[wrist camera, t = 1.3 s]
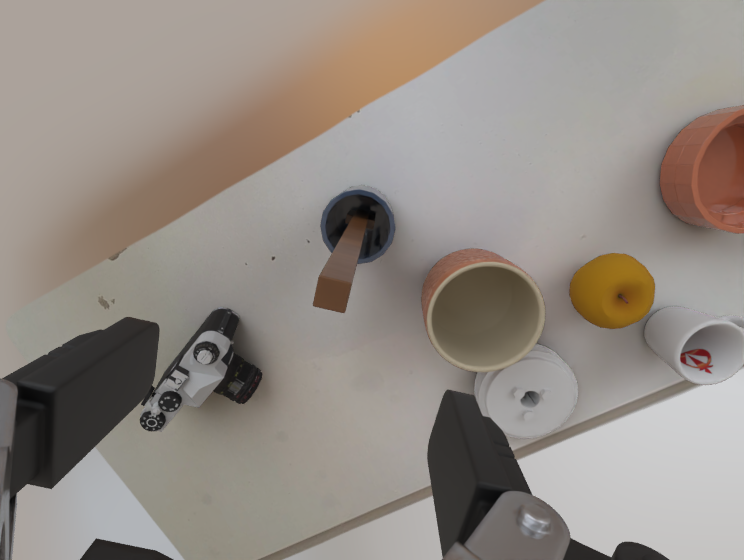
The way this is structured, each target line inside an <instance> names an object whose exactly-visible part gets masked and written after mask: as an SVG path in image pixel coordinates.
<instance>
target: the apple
mask: <svg viewBox="0 0 744 560" xmlns="http://www.w3.org/2000/svg"><path fill="white" fill-rule="evenodd" d="M654 293H655V283H654V279H653V277H652V276H651V274H650V273H649V271H648V270H647V269H646V267H645V266H643V265H642V264H641V263H640V262H638V261H637V260H636V259H634V258H633V257H631V256H629V255H627V254H617V253H611V254H606V255H602V256H599V257H597V258H595V259H593V260H592V261H590V262H588V263H587V264H585V265H584V266H583V267H581V268H580V269H579V270H578V271H577V272H576V273H575V275H574V276H573V278H572V281H571V283H570V294H569V295H570V298H571V301H572V303H573V305H574V308H575V309H576V310H577V311H578V312H579V313H580V314H581V315H582V316H583V317H584V318H585V319H586V320H588V321H589V322H590V323H592V324H595V325H597V326H599V327H602V328H609V329H617V328H623V327H626V326H628V325H630V324H633V323H635V322H638V321H640V320H641V319H642V318H643V317H644V316H645V315H647V314H648V313H649V311H650V308H651V306H652V304H653V301H654Z"/></svg>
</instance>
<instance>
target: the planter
mask: <svg viewBox="0 0 744 560" xmlns="http://www.w3.org/2000/svg"><path fill="white" fill-rule="evenodd" d="M421 302H422V310H423V316H424V322H425V327H426V331H427V334H428V336H429V339H430V341H431V343H432V345H433V346H434V348H435V349H436V351H437V352H438V353H439V354H440V355H441V356H442V357H443V358H444V359H445V360H446V361H448V362H449V363H451V364H452V365H454V366H456V367H458V368H461V369H464V370H467V371H472V372H492V371H497V370H501V369H504V368H507V367H509V366H511V365H513V364H515V363H516V362H518V361H519V360H521V359H522V358H523V357H525V356H526V355H527V354H528V353H529V352H530V351H531V350H532V348H533V347H534V346H535V344H536V343H537V341H538V339H539V337H540V335H541V333H542V330H543V327H544V322H545V304H544V300H543V297H542V294H541V292H540V290H539V288H538V286H537V285H536V283H535V282H534V281H533V279H532V278H531V277H530V276H529V275H528V274H527V273H526V272H525V271H523V270H522V269H521V268H519V267H518V266H516V265H515V264H513V263H511V262H510V261H508V260H506V259H504V258H503V257H501V256H499V255H497V254H495V253H493V252H490V251H486V250H482V249H464V250H459V251H456V252H453V253H451V254H449V255H447V256H445V257H444V258H442V259H441V260H440V261H438V262H437V263H436V264H435V265H434V266H433V268H432V269H431V270H430V272H429V273H428V275H427V277H426V279H425V282H424V285H423V289H422V298H421Z"/></svg>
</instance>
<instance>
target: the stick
mask: <svg viewBox="0 0 744 560" xmlns="http://www.w3.org/2000/svg"><path fill="white" fill-rule="evenodd" d="M369 213H370V212H368V211H364V210H360V209H357V210H356V211H354V210H350V211H349V212H348V213H347V216H346V220H345V223H348V226H347V228H346V230H345V231H344V233H343V235H342V237H341V238H340V240H339V242H338V244H337V245H336V247H335V249H334V251H333V252H332V254H331V256H330V258H329V259H328V261H327V263H326V265H325V267H324V268H323V270H322V272H321V274H320V275H319V278H318V283H317V287H316V292H315V297H314V302H313V306H315V307H319V308H323V309H328V310H332V311H336V312H341V313H345V311H346V307H347V303H348V299H349V295H350V291H351V287H352V283H353V278H354V274H355V270H356V266H357V262H358V258H359V254H360V250H361V246H362V242H363V238H364V234H365V230H366V228H368V229H372V230H373V228H374V224H375V217H376V216H375V215H370V214H369Z"/></svg>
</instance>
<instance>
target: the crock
mask: <svg viewBox="0 0 744 560" xmlns="http://www.w3.org/2000/svg"><path fill="white" fill-rule="evenodd" d="M357 209H360V210H364V211H368V212H370V213H369V214H370V215H375V216H376V217H375V224H374V228H373V230H372V229H368V228H366V230H365V234H364V238H363V242H362V246H361V250H360V254H359V258H358V262H357V264H361V263H367V262H372V261H373V260H375V259H377V258H378V257H380V256H382V255H383V254H384V253H385V252H386V250H387V249H388V248H389V246H390V245H391V243H392V241H393V237H394V233H395V223H394V216H393V212H392V207H391V205H390V203H389V201H388V200H387V198H386V196H385V195H384V194H382V193H381V192H380V191H379V190H377V189H376V188H373V187H370V186H365V185H360V186H354V187H350V188H348V189H347V190H345V191H344V192H342V193H341V194H339V195H338V196H336V197H335V198H333V199H332V200H331V201H330V203H329V204H328V205H327V207H326V208H325V210H324V212H323V215H322V220H321V225H320V227H321V232H322V237H323V241H324V242H325V244H326V246H327V247H328V249H329V250H330V252H331V253H332V252H333V251H334V249H335V247H336V245H337V244H338V242H339V240H340V238H341V237H342V235H343V233H344V231H345V230H346V228H347V226H348V223H345V220H346V216H347V213H348V212H349V211H350V210H354V211H356V210H357Z"/></svg>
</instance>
